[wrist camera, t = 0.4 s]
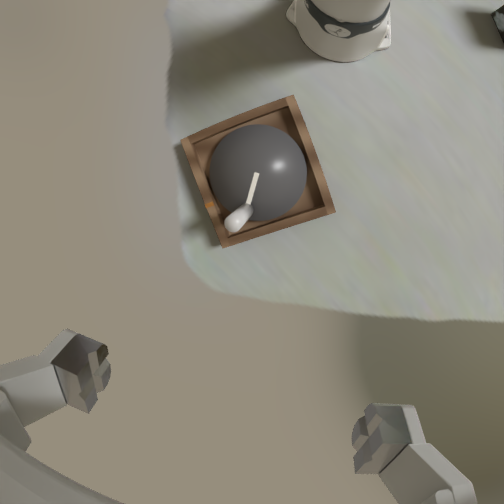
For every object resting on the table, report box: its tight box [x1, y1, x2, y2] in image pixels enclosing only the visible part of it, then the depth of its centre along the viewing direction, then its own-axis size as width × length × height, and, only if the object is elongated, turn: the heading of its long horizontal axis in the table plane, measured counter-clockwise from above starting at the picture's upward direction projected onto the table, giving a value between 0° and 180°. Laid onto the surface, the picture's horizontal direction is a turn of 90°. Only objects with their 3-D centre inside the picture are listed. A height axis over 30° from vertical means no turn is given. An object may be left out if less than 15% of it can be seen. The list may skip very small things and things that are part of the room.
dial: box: [209, 124, 307, 232], centre depth 45 cm, size 16×16×11 cm
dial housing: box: [181, 95, 336, 248], centre depth 50 cm, size 20×20×4 cm
